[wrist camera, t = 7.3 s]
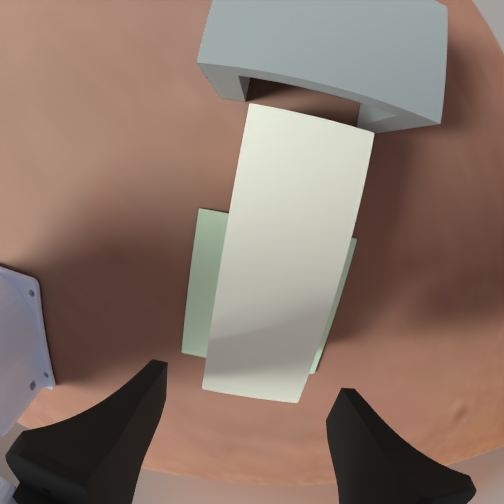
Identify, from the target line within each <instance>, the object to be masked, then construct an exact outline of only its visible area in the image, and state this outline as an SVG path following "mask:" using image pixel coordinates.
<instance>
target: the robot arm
mask: <svg viewBox="0 0 504 504" xmlns="http://www.w3.org/2000/svg"><path fill="white" fill-rule="evenodd" d="M33 292H34V293H33ZM167 366H168V363H167V362H163V361H158V360H154V359H153V360H151V361H150V362H149V363H148V364H147V365H146V366H145V367H144V368H143V369H142V370H141V371H140V372H139V373H137V374H136V375H135V376H134V377H133V378H132V379H131V380H130V381H128V382H127V383H126V384H125V385H124V386H122V387H121V388H120V389H119V390H117V391H116V392H114V393H113V394H112V395H110V396H109V397H108V398H106V399H105V400H103V401H102V402H100V403H98V404H97V405H95V406H93V407H92V408H90V409H88V410H86V411H84V412H82V413H80V414H78V415H76V416H74V417H71V418H69V419H66V420H64V421H61V422H58V423H55V424H52V425H49V426H45V427H41V428H36V429H32V430H27V431H23V432H22V433H21V434H20V435H19V436H18V438H17V439H16V441H15V442H14V443H13V445H12V446H11V448H10V449H9V451H8V452H7V454H6V455H5V457H6V461H7V463H8V465H9V467H10V469H11V470H12V472H13V473H14V474H15V476H16V477H17V478H18V480H19V482H20V484H19V485H18V487H17V488H16V487H15V486H14V485H12V484H11V483H10V482H8V481H7V480H6V479H4V478H2V477H1V476H0V504H132V500H133V496H134V492H135V488H136V484H137V480H138V476H139V472H140V469H141V465H142V462H143V460H144V457H145V455H146V452H147V450H148V447H149V445H150V442H151V440H152V438H153V435H154V433H155V430H156V428H157V426H158V423H159V421H160V418H161V415H162V411H163V408H164V404H165V400H166V387H167ZM44 386H45V387H47V388H49V389H53V388H54V387H55V380H54V376H53V371H52V367H51V362H50V357H49V352H48V347H47V341H46V335H45V329H44V322H43V315H42V307H41V298H40V288H39V283H38V281H37V280H36V279H35V278H33V277H30V276H27V275H24V274H21V273H18V272H15V271H12V270H9V269H6V268H3V267H0V437H1V436H3V435H5V434H6V433H7V432H8V431H9V430H10V429H11V428H12V426H13V425H14V424H15V423H16V421H17V420H18V419H19V417H20V416H21V415H22V413H23V412H24V411H25V410H26V408H27V407H28V406H29V404H30V403H31V402H32V401H33V399H34V398H35V397H36V395H37V394H38V393H39V392H40V390H41V389H42V388H43V387H44ZM326 426H327V438H328V444H329V449H330V453H331V457H332V462H333V466H334V471H335V475H336V479H337V485H338V493H339V504H467V503H468V502H469V501H470V500H471V499H472V498H473V496H474V495H475V493H476V488H475V486H474V484H473V482H472V480H471V478H470V476H469V475H466V474H463V473H460V472H458V471H455V470H452V469H450V468H448V467H446V466H444V465H441V464H439V463H438V462H436V461H434V460H432V459H430V458H429V457H427V456H426V455H424V454H422V453H421V452H419V451H418V450H416V449H415V448H414V447H412V446H411V445H410V444H409V443H407V442H406V441H405V440H403V439H402V438H401V437H400V436H399V435H398V434H397V433H396V432H395V431H393V430H392V429H391V428H390V427H389V426H388V425H387V424H386V423H385V422H384V421H383V420H382V419H381V417H380V416H379V415H378V414H377V413H376V412H375V411H374V410H373V409H372V408H371V406H370V405H369V404H368V403H367V402H366V401H365V400H364V399H363V397H362V396H361V395H360V394H359V393H358V392H357V391H356V390H355V389H350V388H341V390H340V392H339V394H338V397H337V399H336V401H335V403H334V405H333V407H332V409H331V411H330V413H329V415H328V417H327V419H326Z"/></svg>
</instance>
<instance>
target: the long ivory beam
mask: <svg viewBox="0 0 504 504" xmlns="http://www.w3.org/2000/svg"><path fill="white" fill-rule="evenodd" d="M374 134H375V133H373V132H370V131H367V130H363V129H360V128H356V127H353V126H349V125H346V124H342V123H338V122H335V121H331V120H327V119H323V118H319V117H315V116H311V115H306V114H302V113H297V112H293V111H288V110H283V109H278V108H273V107H268V106H263V105H257V104H251V103H250V104H249V109H248V114H247V119H246V125H245V130H244V135H243V140H242V145H241V151H240V156H239V161H238V167H237V172H236V177H235V183H234V188H233V194H232V200H231V205H230V211H229V217H228V222H227V228H226V234H225V240H224V246H223V252H222V258H221V264H220V270H219V276H218V283H217V289H216V295H215V302H214V308H213V315H212V321H211V328H210V335H209V342H208V349H207V356H206V363H205V370H204V377H203V384H202V389H205V390H210V391H216V392H221V393H227V394H233V395H239V396H245V397H252V398H259V399H267V400H275V401H283V402H292V403H298V401H299V399H300V396H301V393H302V391H303V388H304V386H305V383H306V380H307V378H308V375H309V372H310V369H311V367H312V364H313V361H314V358H315V355H316V353H317V350H318V347H319V344H320V341H321V338H322V335H323V332H324V329H325V326H326V323H327V320H328V317H329V314H330V310H331V307H332V304H333V301H334V298H335V294H336V291H337V288H338V284H339V281H340V278H341V274H342V271H343V267H344V264H345V260H346V256H347V253H348V249H349V245H350V241H351V238H352V234H353V230H354V226H355V222H356V218H357V214H358V210H359V205H360V201H361V197H362V192H363V188H364V183H365V179H366V174H367V169H368V165H369V160H370V155H371V150H372V144H373V139H374Z"/></svg>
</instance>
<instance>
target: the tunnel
mask: <svg viewBox="0 0 504 504" xmlns="http://www.w3.org/2000/svg"><path fill="white" fill-rule="evenodd" d="M196 63H197V64H198V66H199V67H200V69H201V70H202V72H203V73H204V75H205V76H206V78H207V79H208V80H209V82H210V83H211V85H212V86H213V88H214V89H215V91H216V92H217V94H218V95H219V97H220V98H222V99H229V100H236V101H242V102H245V101H246V96H247V91H248V86H249V81H250V77H252V78H258V79H264V80H269V81H275V82H280V83H285V84H290V85H294V86H299V87H303V88H308V89H312V90H316V91H320V92H324V93H328V94H332V95H336V96H339V97H343V98H346V99H350V100H353V101H357V102H360V109H359V115H358V121H357V126H356V127H358V128H362V129H365V130H368V131H372V132H375V133H378V134H379V133H384V132H390V131H396V130H403V129H409V128H416V127H423V126H430V125H438V124H441V117H442V109H443V100H444V90H445V78H446V63H447V6H445V5H443V4H441V3H439V2H437V1H435V0H213V1H212V5H211V8H210V12H209V15H208V19H207V22H206V26H205V30H204V33H203V37H202V41H201V45H200V49H199V53H198V57H197V61H196Z"/></svg>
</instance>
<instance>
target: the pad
mask: <svg viewBox="0 0 504 504" xmlns="http://www.w3.org/2000/svg"><path fill="white" fill-rule="evenodd" d="M228 217H229V213H225V212H220V211H214V210H209V209H203V208H199V212H198V218H197V225H196V232H195V239H194V246H193V254H192V261H191V269H190V277H189V285H188V294H187V303H186V312H185V321H184V331H183V342H182V353H185V354H190V355H195V356H200V357H205V358H206V356H207V349H208V342H209V335H210V328H211V321H212V315H213V308H214V302H215V295H216V289H217V283H218V276H219V270H220V264H221V258H222V252H223V246H224V240H225V234H226V228H227V222H228ZM356 242H357V239H356V238H351V241H350V245H349V249H348V253H347V256H346V260H345V264H344V267H343V271H342V274H341V278H340V281H339V284H338V288H337V291H336V294H335V298H334V301H333V304H332V307H331V310H330V314H329V317H328V320H327V323H326V326H325V329H324V332H323V335H322V338H321V341H320V344H319V347H318V350H317V353H316V355H315V358H314V361H313V364H312V367H311V369H310V372H309V374H314V373H315V370H316V367H317V365H318V362H319V359H320V357H321V354H322V351H323V348H324V345H325V343H326V340H327V337H328V334H329V331H330V328H331V325H332V322H333V319H334V316H335V313H336V310H337V307H338V303H339V300H340V297H341V294H342V291H343V287H344V284H345V281H346V277H347V274H348V271H349V267H350V264H351V260H352V256H353V253H354V249H355V245H356Z"/></svg>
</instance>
